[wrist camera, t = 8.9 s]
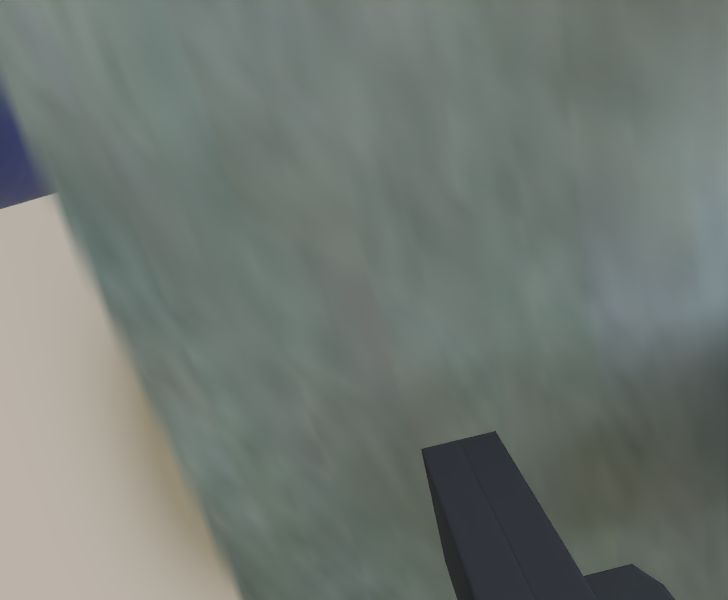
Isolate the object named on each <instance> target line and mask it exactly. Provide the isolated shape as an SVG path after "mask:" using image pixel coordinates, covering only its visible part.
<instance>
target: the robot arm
mask: <svg viewBox="0 0 728 600" xmlns="http://www.w3.org/2000/svg"><path fill="white" fill-rule="evenodd" d="M421 450H422V455H423V459H424V464H425V469H426V473H427V478H428V483H429V488H430V492H431V497H432V502H433V506H434V511H435V516H436V520H437V525H438V530H439V534H440V539H441V544H442V548H443V553H444V558H445V562H446V565H447V568H448V572H449V575H450V578H451V581H452V584H453V587H454V590H455V594H456V597H457V600H675V599H674V598H673V597H672V595H671V594H670V593H669V591H668V590H667V589H666V587H665V586H664V585H663V584H661V583H660V582H658V581H657V580H655V579H654V578H652V577H651V576H649V575H648V574H646V573H645V572H643V571H642V570H640V569H639V568H637V567H636V566H634V565H633V564H630V565H626V566H622V567H618V568H614V569H610V570H606V571H602V572H598V573H594V574H590V575H586V576H583V575H582V573H581V572H580V570H579V568H578V567H577V565H576V563H575V562H574V560H573V558H572V557H571V555H570V553H569V552H568V550H567V548H566V547H565V545H564V544H563V542H562V540H561V539H560V537H559V535H558V534H557V532H556V530H555V529H554V527H553V525H552V524H551V522H550V520H549V519H548V517H547V515H546V514H545V512H544V511H543V509H542V507H541V506H540V504H539V502H538V501H537V499H536V497H535V496H534V494H533V492H532V491H531V489H530V487H529V486H528V484H527V482H526V481H525V479H524V478H523V476H522V474H521V473H520V471H519V469H518V468H517V466H516V464H515V463H514V461H513V459H512V458H511V456H510V454H509V453H508V451H507V450H506V448H505V446H504V445H503V443H502V441H501V440H500V438H499V436H498V435H497V433H496V431H494V432H490V433H486V434H482V435H477V436H473V437H469V438H465V439H461V440H457V441H453V442H449V443H444V444H440V445H436V446H432V447H428V448H424V449H421Z"/></svg>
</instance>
